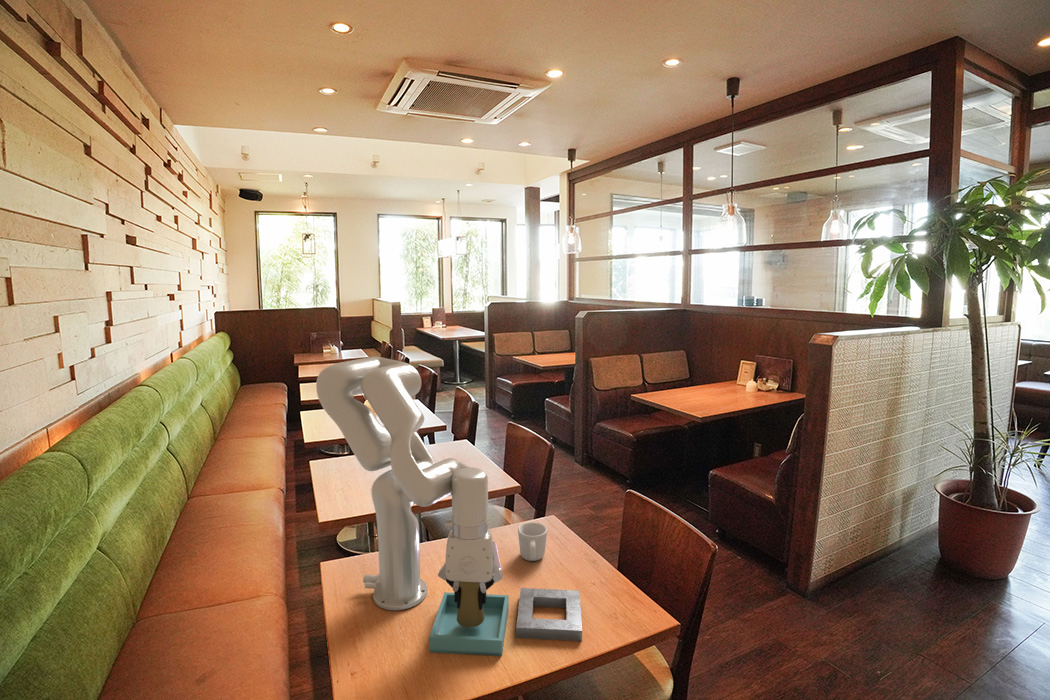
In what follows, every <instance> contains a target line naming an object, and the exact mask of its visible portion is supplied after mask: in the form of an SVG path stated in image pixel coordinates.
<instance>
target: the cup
mask: <svg viewBox="0 0 1050 700" xmlns="http://www.w3.org/2000/svg"><path fill="white" fill-rule="evenodd" d="M517 533H518V535H517V536H518V543H519V552H520V556H521V557H522V558H523V559H524V560H526V561H530V562H535V561H540V560H541V559H543V557H544V556H545V552H546V545H547V537H548V528H547V526H546V525H544V524H542V523H539V522H534V521H529V522H524V523H522V524H521V525H519V527H518V529H517Z"/></svg>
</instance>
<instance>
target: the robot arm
mask: <svg viewBox="0 0 1050 700" xmlns="http://www.w3.org/2000/svg"><path fill="white" fill-rule="evenodd" d="M420 375H421V374H420V373H419V371H418V370H417V369H416V368H415V367H414V366H413V365H411V364H409V363H407V362H404V361H401V360H395V359H391V358H385V357H380V356H371V357H370V356H369V357H363V358H358V359H352V360H347V361H342V362H337V363H334V364H331V365H328V366H327V367H324V369H322V370H321V371H320V372H319V374H318V375H317V379H316V385H315V386H316V395H317V398H318V401H319V403H320V405H321V407H322V408H323V410H324V411H325V413H326V414H327V415H328V416H329V417H330V419H331V420H332V421H333V422H334V423H335V425H336V426H337V427H338V429H339V430H340V431H341V434H342V435H343V437H344V439H345V441H346V442H347V444H348V446H349V447H350V450H351V451H352V453H353V454H354V457H356V459H357V461H358V463H359V464H360V466H361V467H362V468H363V469H364V470H366V471H368V472H377V471H379V470H383V469H386V468H387V467H390V466H391V469H389V470H387V471H385V472H383V473H381V474H380V475H379V476H378V477H377V478H376V479H375V480H374V481H373V483H372V485H371V489H370V493H371V498H372V499H371V500H372V502H373V503H372V504H373V507H374V511H375V517H376V527H377V528H376V529H377V545H378V547H377V548H378V549H377V550H378V570H379V571H378V573H377V574H375V575H374V574H364V575H363V580H362V581H363V584H364V589H373V590H374V591H373V602H374V603H375V605H377V606H378V607H379V608H381V609H384V610H388V611H402V610H407V609H410V608H412V607H415V606H417V605H418V604H420V603H421V602H422V601H423V600H424V599H425V598H426V596H427V594H428V585H427V583H426V581H425V580H423V579H422V578H421V557H420V556H421V553H420V552H421V551H420V525H419V521H418V518H417V516H416V515H415V514H414V513H413V512H412V506H414V505H416V506H417V507H424V508H425V507H430V506H432V505H435V504H436V503H438V502H440V501H441V500H443V499H445V498H447V497H450V496H451V519H449V520H445V528H449V529H450V531H449V533H448V536H447V541H446V548H445V549H446V550H445V562H444V563H443V565H442V566H441V568H440V569H439V570H438V573H437V577H439V578H440V579H442V580H443V581H446V583H447V584H448V585H449V586H450V588H451V589H452V591H453V593H454V599H455V602H457V609H460V600H461V587H460V586H459V582H479V583H480V591H479V594H478V604H479V610H482V607H483V604H486V594H487V591H488V590H489V589H490V588H491V587H493V585H494V584H496V583H499V582H500V581H501V580H503V576H504V575H503V572H502V570H501V571H500V569H499V568H498V566H497V565H496V563H495V562H494V549H493V542H494V541H493V536H492V532H491V530H490V529H489V478H488V474H487V473H486V472H485V471H484V470H483V469H481V468H478V467H471V466H470V465H467V464H466V463H464V462H463V461H461V460H459V459H457V458H454V457H448V458H445V459H442V460H440V461H438V462H436V460H435V459H434V457H433V456H432V454H431V453H430V451H429V450H428V448H427V446H426V444H425V442H424V441H423V440H422V438H421V436H420V435H419V433H418V430H420V429H421V427H422V425H423V424H424V421H425V415H424V413H423V412H422V410H421V409H420V408H419V406H418V404H417V403H416V402H415V400H414V399H413V398H412V397H414V396H415V395H417V394H418V393H419V392H420V390H421V388H422V377H421V376H420ZM362 394H363V396H364V398H365V400H367V402H368V404H369V405H370V407H371V408H369V407H368V406H367V405H366V404H365V403H363V402H361V401H360V400H358V399H356V398H355V397H354V396H359V395H362ZM372 409H373V410H372ZM373 411H374V412H373ZM375 414H376V415H375ZM376 416H377V417H378V419H379V420H380V421H379V420H378V419H377V417H376ZM380 422H381V423H382V424H381V423H380Z"/></svg>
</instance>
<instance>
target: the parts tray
mask: <svg viewBox="0 0 1050 700" xmlns="http://www.w3.org/2000/svg"><path fill="white" fill-rule="evenodd" d="M509 596H510V595H509V594H490V593H486V604H483V611H484V621H483V622H482V623H481V624H480V625H478V626H476V627H471V628H469V627H463V626H461V625H459V623H458V622H457V613H458V609H457V602H455V599H454V592H444V593H443V595H442V598H441V601H440V604H439V607H438V610H437V613H436V616H435V619H434V622H433V624H432V625H433V626H432V628H431V629H430V633H429V636H428V637H429V638H428V639H429V640H428V641H429V647H428V648H429V653H437V654H439V653H440V654H453V655H454V654H455V655H456V654H458V655H477V656H492V657H493V656H494V657H502V656H503V651H504V650H503V649H504V644H505V637H506V631H507V625H508V624H507V623H508V617H509V609H510V607H509V606H510V605H509V603H510V602H509V601H510V600H509V598H510V597H509Z"/></svg>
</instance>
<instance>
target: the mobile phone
mask: <svg viewBox="0 0 1050 700" xmlns="http://www.w3.org/2000/svg"><path fill="white" fill-rule="evenodd" d="M493 549H494V562H495V563H496V565H497V566H498V568H499V569H500V571H501V572H502V565H501V561H500V556H499V551H498V546H497V543H496V542H495V541H493Z"/></svg>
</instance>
